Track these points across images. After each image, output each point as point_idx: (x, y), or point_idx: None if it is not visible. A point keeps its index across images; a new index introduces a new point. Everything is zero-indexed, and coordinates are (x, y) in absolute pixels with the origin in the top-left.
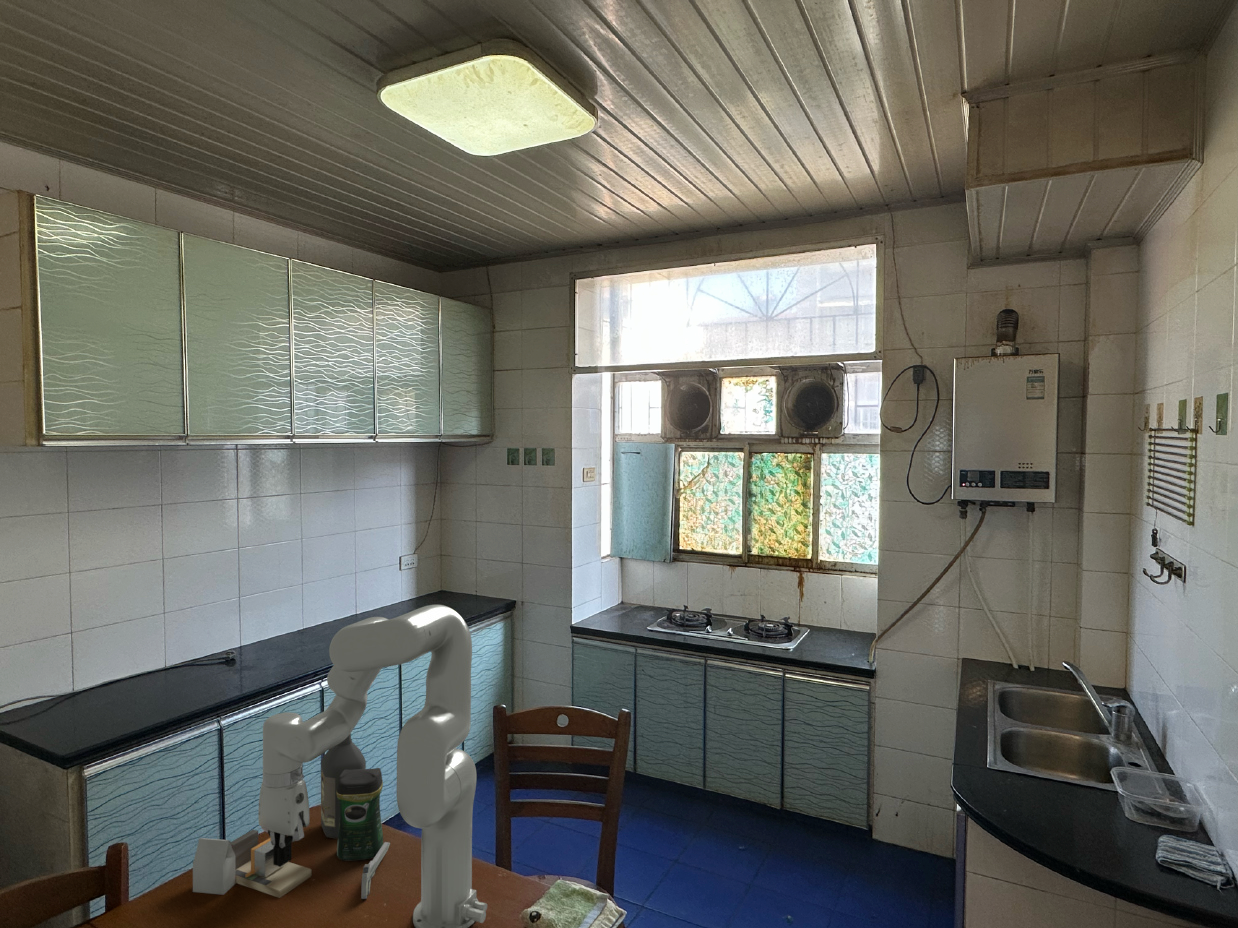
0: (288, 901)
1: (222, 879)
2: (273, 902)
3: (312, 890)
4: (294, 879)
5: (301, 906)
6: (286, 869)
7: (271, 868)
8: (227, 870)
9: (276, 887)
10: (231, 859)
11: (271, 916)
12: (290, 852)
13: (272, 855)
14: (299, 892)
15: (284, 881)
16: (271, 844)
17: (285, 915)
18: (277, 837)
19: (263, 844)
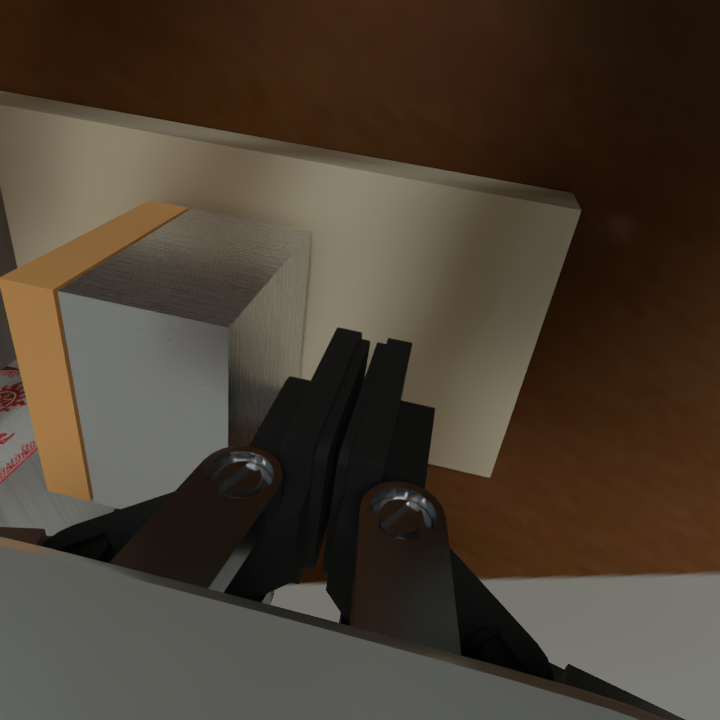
0: (568, 465)
1: (108, 511)
2: (478, 480)
3: (683, 352)
4: (515, 363)
5: (685, 494)
6: (358, 260)
7: (289, 372)
8: (77, 508)
9: (443, 453)
10: (22, 516)
11: (546, 566)
12: (429, 438)
13: (252, 425)
14: (591, 384)
15: (453, 393)
16: (146, 406)
17: (624, 558)
18: (234, 589)
19: (73, 415)
